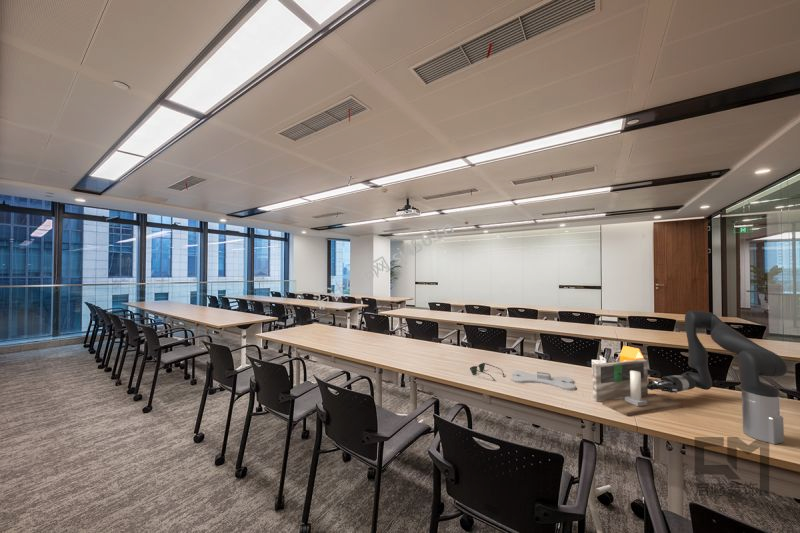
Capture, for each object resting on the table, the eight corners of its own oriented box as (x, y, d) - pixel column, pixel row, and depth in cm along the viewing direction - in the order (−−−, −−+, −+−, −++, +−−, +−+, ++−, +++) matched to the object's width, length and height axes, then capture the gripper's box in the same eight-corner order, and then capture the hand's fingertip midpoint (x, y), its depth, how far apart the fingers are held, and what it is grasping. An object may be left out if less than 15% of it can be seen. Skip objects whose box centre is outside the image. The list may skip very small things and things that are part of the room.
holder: (576, 392, 156) (576, 383, 156) (510, 382, 171) (510, 373, 171) (572, 380, 173) (572, 372, 174) (512, 372, 188) (512, 364, 188)
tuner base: (681, 407, 138) (680, 369, 138) (627, 416, 129) (626, 375, 130) (643, 392, 154) (642, 359, 154) (593, 400, 146) (592, 364, 146)
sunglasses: (492, 383, 169) (492, 374, 170) (469, 375, 182) (469, 367, 183) (507, 376, 180) (507, 368, 180) (484, 369, 193) (484, 362, 193)
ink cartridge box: (591, 378, 175) (590, 354, 176) (600, 379, 174) (600, 354, 175) (598, 384, 167) (597, 358, 167) (607, 384, 166) (607, 359, 166)
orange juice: (628, 377, 177) (627, 344, 178) (644, 382, 169) (643, 348, 169) (619, 379, 174) (619, 346, 175) (636, 384, 166) (635, 349, 167)
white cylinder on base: (647, 404, 136) (646, 373, 137) (637, 406, 135) (637, 374, 135) (624, 395, 147) (623, 366, 147) (615, 396, 145) (614, 367, 146)
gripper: (659, 371, 151) (634, 374, 147) (690, 380, 139) (664, 384, 134) (659, 386, 151) (635, 389, 147) (690, 396, 138) (664, 400, 134)
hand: (649, 387), depth 141 cm, fingers closed
